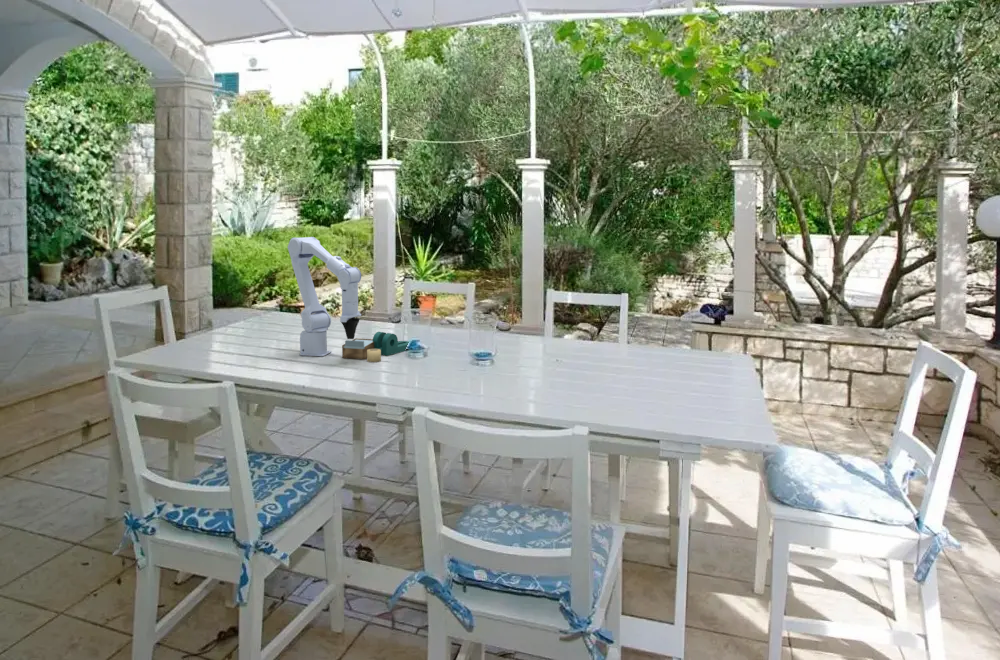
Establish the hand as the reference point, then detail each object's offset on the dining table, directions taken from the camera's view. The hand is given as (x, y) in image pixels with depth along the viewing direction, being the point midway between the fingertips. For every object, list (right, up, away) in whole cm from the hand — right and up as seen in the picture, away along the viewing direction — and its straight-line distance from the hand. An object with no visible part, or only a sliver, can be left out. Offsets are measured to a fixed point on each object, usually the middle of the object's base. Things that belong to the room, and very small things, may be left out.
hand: (350, 338), depth 269 cm
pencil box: (+2, -6, +11) cm, 13 cm away
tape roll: (+8, -8, +2) cm, 12 cm away
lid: (+2, -3, +10) cm, 11 cm away
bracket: (+13, -5, +19) cm, 24 cm away
